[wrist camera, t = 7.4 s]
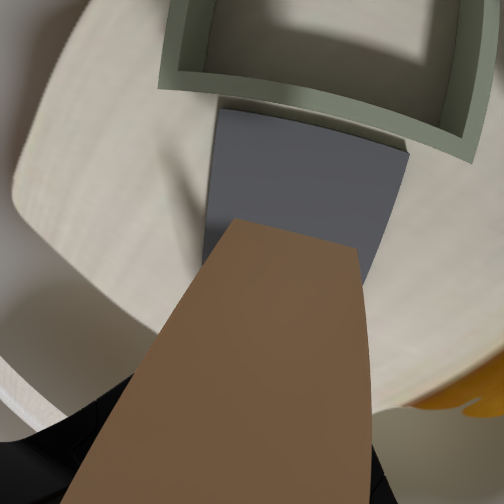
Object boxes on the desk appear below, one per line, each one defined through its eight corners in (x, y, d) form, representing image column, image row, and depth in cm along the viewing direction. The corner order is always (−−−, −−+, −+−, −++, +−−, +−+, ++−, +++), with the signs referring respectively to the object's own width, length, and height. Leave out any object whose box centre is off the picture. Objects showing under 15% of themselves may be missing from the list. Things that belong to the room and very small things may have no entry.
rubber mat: (407, 151, 16) (409, 153, 15) (353, 301, 21) (353, 306, 21) (222, 107, 17) (219, 108, 16) (204, 263, 22) (201, 268, 22)
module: (356, 248, 9) (338, 658, 1) (307, 367, 13) (256, 608, 4) (234, 218, 10) (24, 573, 1) (217, 344, 13) (120, 570, 4)
